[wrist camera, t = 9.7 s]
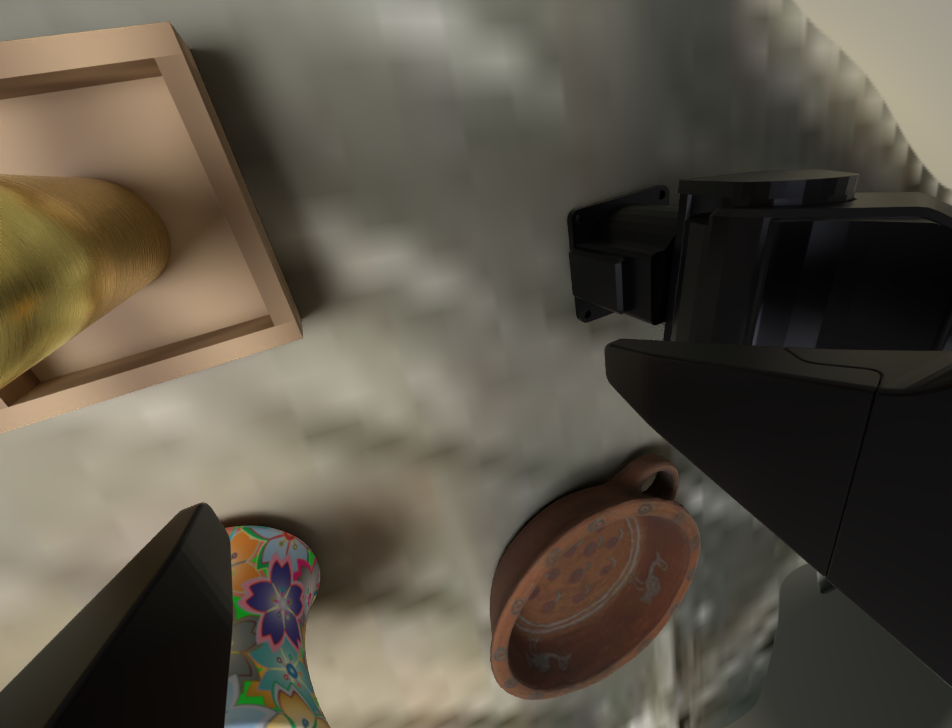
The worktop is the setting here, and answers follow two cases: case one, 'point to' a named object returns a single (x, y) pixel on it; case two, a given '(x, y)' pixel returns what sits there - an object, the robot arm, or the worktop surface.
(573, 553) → the dish
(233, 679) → the mug
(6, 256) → the pin
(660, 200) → the robot arm
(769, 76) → the worktop surface
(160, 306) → the tray
